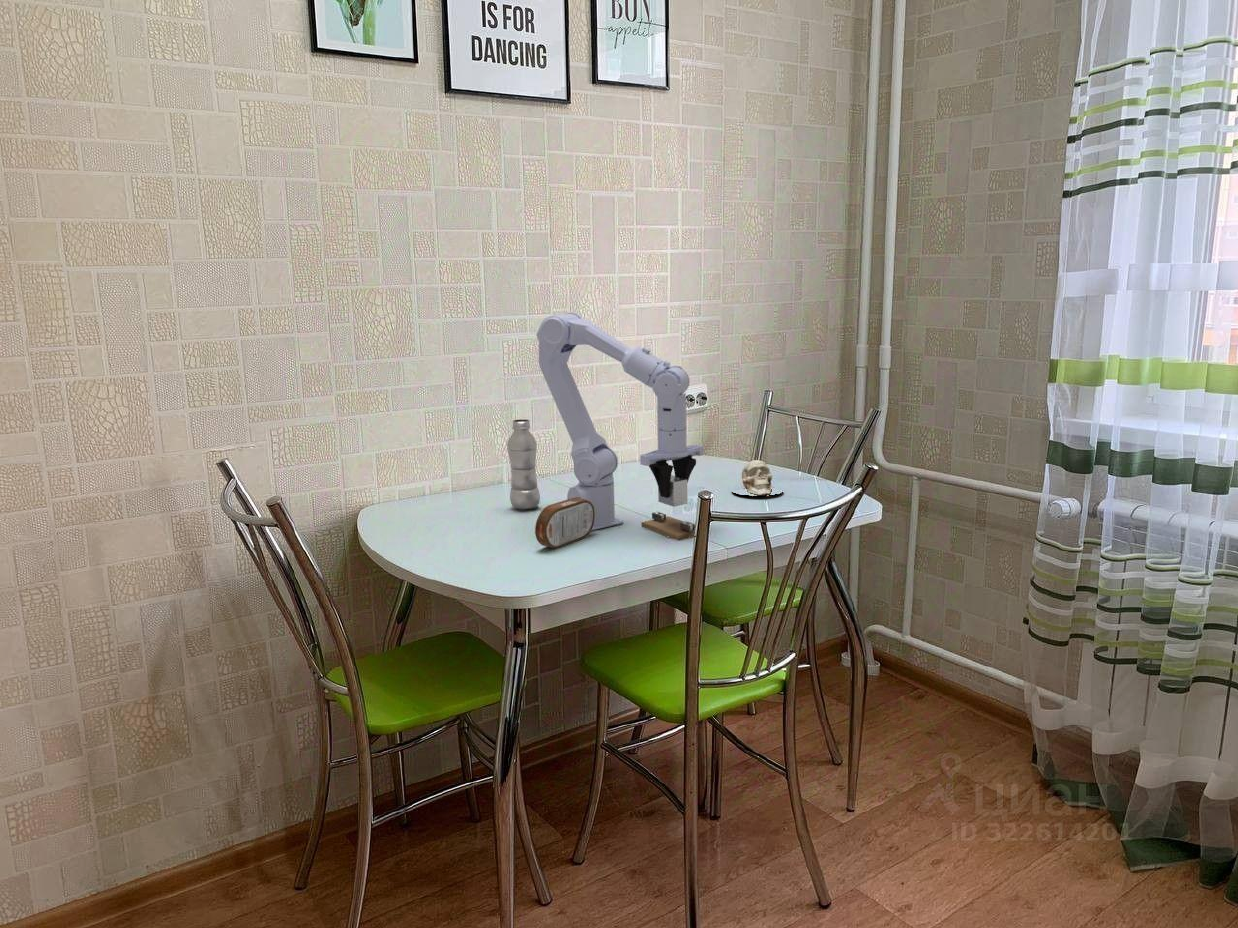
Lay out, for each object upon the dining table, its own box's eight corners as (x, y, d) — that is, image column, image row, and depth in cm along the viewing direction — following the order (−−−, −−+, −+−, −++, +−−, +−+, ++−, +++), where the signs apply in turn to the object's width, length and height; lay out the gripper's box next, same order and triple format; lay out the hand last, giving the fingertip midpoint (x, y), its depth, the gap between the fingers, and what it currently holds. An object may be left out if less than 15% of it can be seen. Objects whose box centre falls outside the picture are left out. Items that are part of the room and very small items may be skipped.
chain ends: (689, 532, 181) (689, 525, 181) (652, 519, 191) (651, 512, 191) (694, 531, 182) (694, 524, 182) (657, 518, 192) (657, 511, 192)
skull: (780, 501, 207) (781, 468, 205) (727, 499, 210) (727, 466, 209) (785, 488, 218) (786, 456, 217) (735, 486, 221) (735, 455, 220)
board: (678, 540, 180) (678, 535, 180) (641, 526, 190) (641, 522, 190) (705, 533, 184) (705, 528, 184) (668, 520, 194) (668, 516, 193)
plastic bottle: (535, 513, 202) (531, 423, 197) (506, 512, 203) (501, 423, 199) (543, 505, 208) (540, 418, 204) (515, 504, 209) (510, 417, 205)
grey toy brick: (673, 506, 183) (673, 479, 181) (658, 501, 187) (658, 475, 185) (687, 503, 185) (687, 477, 183) (672, 498, 189) (671, 472, 187)
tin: (586, 532, 187) (585, 492, 185) (598, 534, 185) (597, 494, 184) (534, 551, 176) (532, 508, 174) (546, 554, 174) (544, 511, 172)
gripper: (655, 436, 175) (656, 505, 178) (712, 426, 183) (713, 492, 186) (633, 431, 181) (634, 498, 184) (690, 422, 189) (690, 486, 192)
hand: (672, 495), depth 185 cm, fingers closed on grey toy brick, 3 cm apart
